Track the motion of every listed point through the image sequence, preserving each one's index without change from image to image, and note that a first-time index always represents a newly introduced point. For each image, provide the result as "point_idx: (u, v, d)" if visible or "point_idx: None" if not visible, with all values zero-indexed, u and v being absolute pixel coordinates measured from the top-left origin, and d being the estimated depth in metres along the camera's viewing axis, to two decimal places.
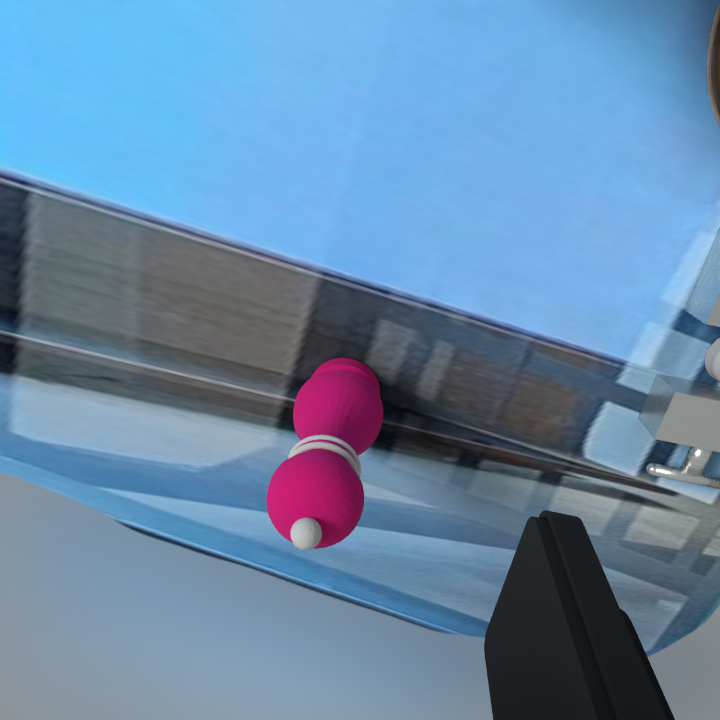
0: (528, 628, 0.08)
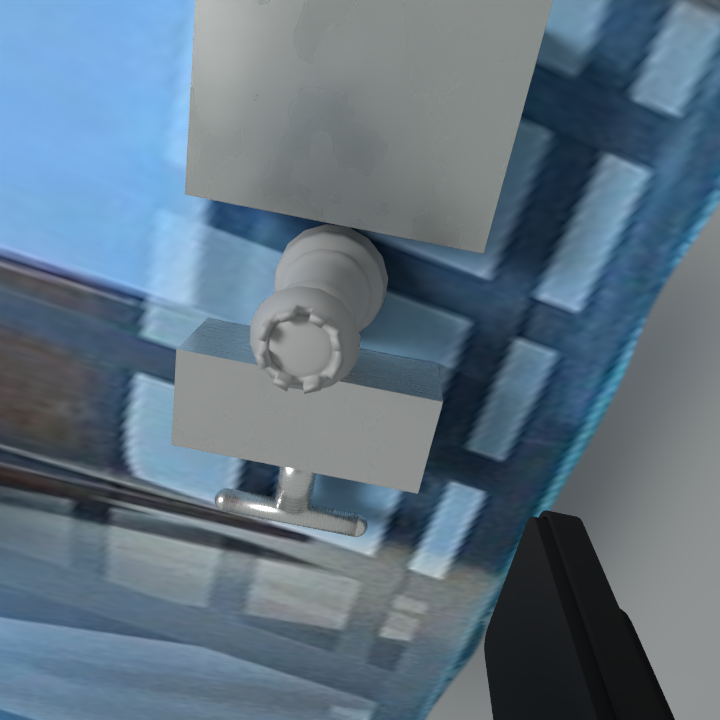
0: (528, 628, 0.08)
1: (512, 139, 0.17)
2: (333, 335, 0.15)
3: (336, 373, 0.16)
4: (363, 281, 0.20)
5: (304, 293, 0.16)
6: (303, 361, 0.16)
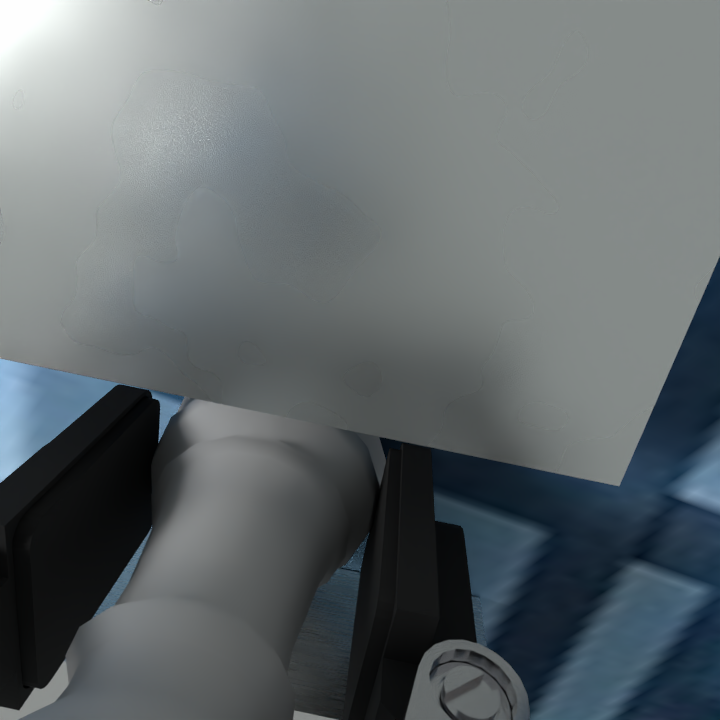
0: (374, 540, 0.09)
1: None
2: None
3: None
4: (328, 509, 0.09)
5: None
6: None
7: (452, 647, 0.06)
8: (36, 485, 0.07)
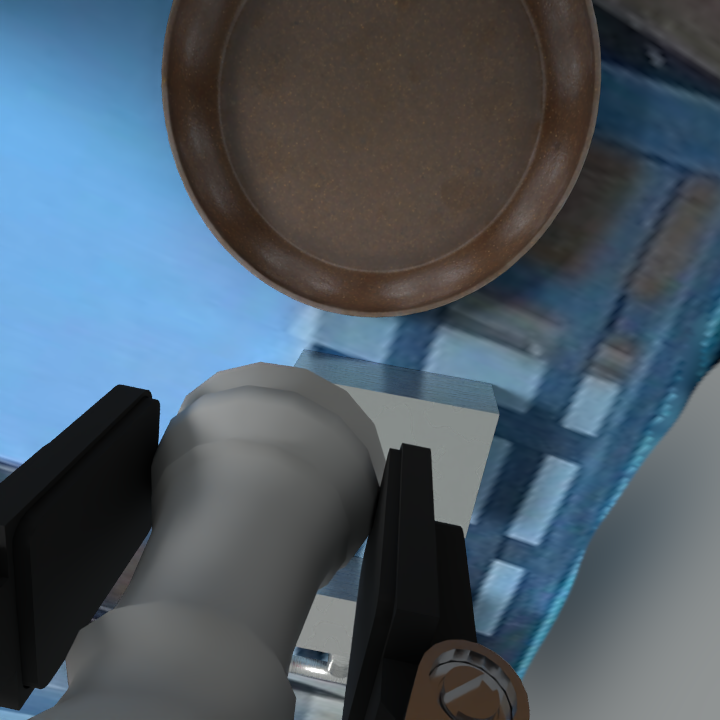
0: (374, 540, 0.09)
1: (479, 479, 0.27)
2: None
3: None
4: (328, 511, 0.09)
5: None
6: None
7: (452, 647, 0.06)
8: (36, 485, 0.07)
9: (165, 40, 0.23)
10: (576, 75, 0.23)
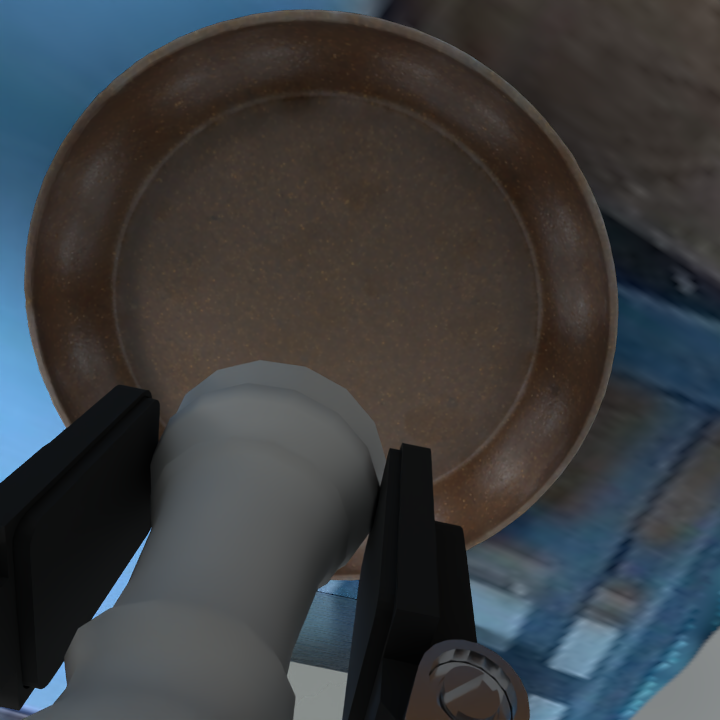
0: (374, 540, 0.09)
1: None
2: None
3: None
4: (328, 509, 0.09)
5: None
6: None
7: (452, 647, 0.06)
8: (36, 485, 0.07)
9: (27, 253, 0.16)
10: (583, 314, 0.17)
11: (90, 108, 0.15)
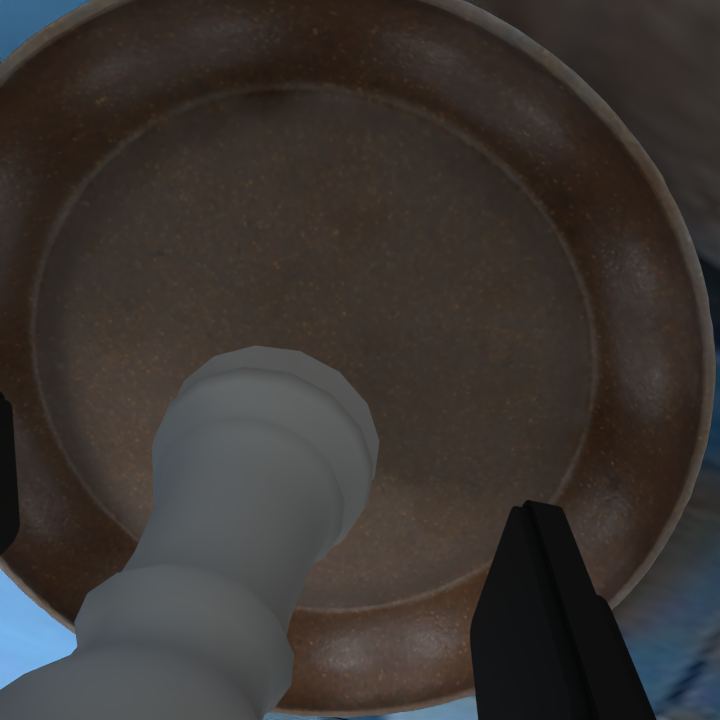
0: (509, 614, 0.08)
1: None
2: None
3: None
4: (322, 484, 0.09)
5: (99, 700, 0.05)
6: None
7: None
8: None
9: None
10: (658, 387, 0.12)
11: None
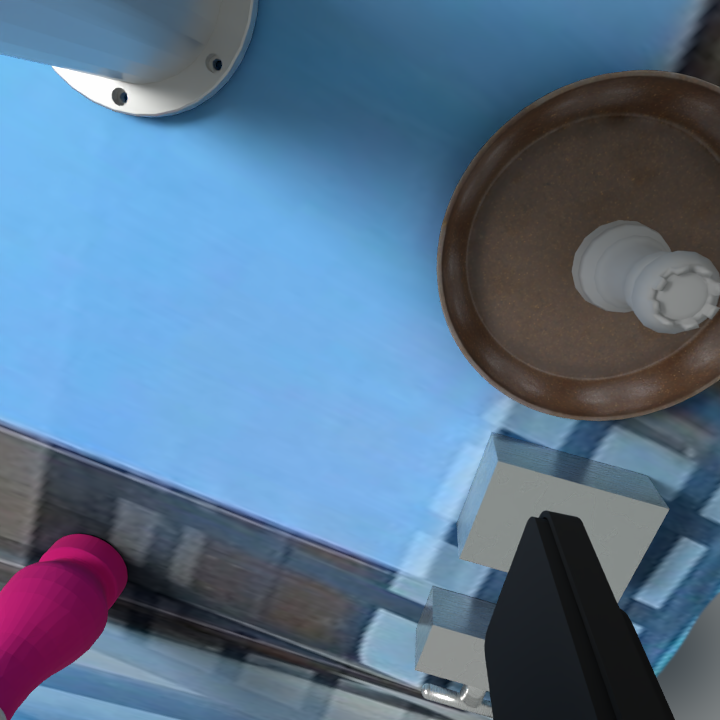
0: (528, 628, 0.08)
1: (640, 558, 0.33)
2: (714, 284, 0.21)
3: (714, 313, 0.21)
4: None
5: (685, 255, 0.21)
6: (683, 306, 0.21)
7: None
8: None
9: (454, 194, 0.28)
10: None
11: (519, 114, 0.27)
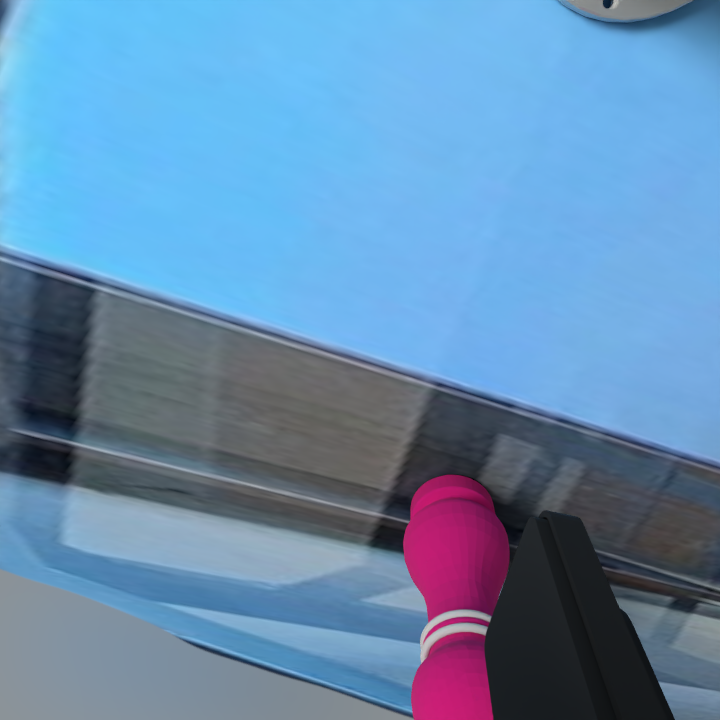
0: (528, 628, 0.08)
1: None
2: None
3: None
4: None
5: None
6: None
7: None
8: None
9: None
10: None
11: None
